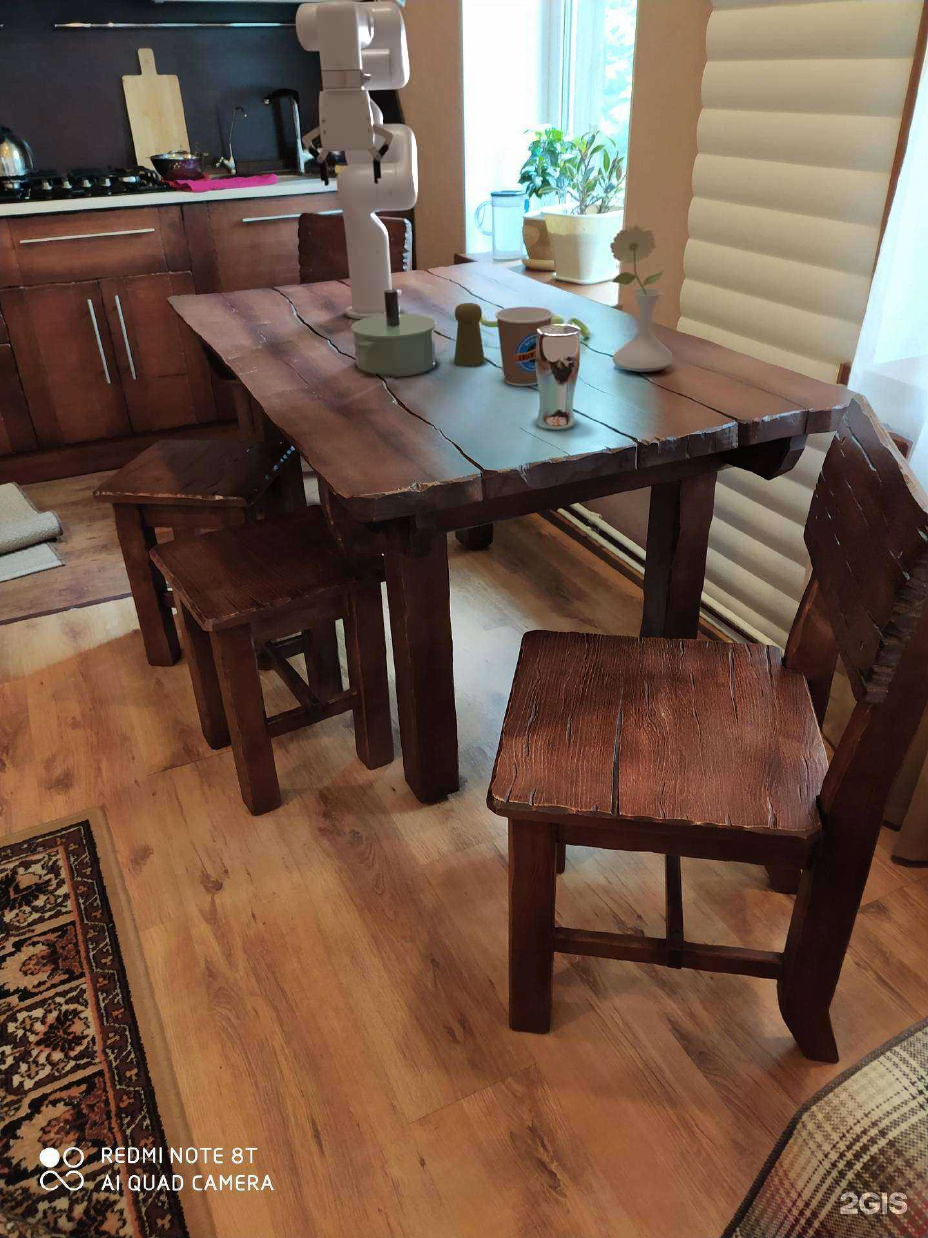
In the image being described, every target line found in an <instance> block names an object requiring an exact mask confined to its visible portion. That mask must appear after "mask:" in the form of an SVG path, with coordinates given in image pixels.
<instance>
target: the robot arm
mask: <svg viewBox="0 0 928 1238" xmlns="http://www.w3.org/2000/svg"><path fill="white" fill-rule="evenodd" d="M404 21H405V20H404V18H403V14H402V12H401V10H400V8H399V6H398V5H397V3H395V2H392V1H389V0H387V1H353V0H329V1H321V2H320V1H318V2H304V3H301V4H300V5H299V6H298V9H297V11H296V15H295V30H296V31H295V32H296V35H297V38H298V41H299V44H300V45H301V47H302V48H303V50H305V51H308V52H319V58H320V59H319V60H320V69H321V70H320V71H321V72H320V73H321V80H322V81H321V82H322V89H323V90H321V91H319V97H318V114H319V115H318V117H319V118H318V119H319V125H318V126H317V127H316V128H314V129H313V130H311V131H309V132H308V133H307V134H305V135H304V136H302V138H301V141H302V144H303V145H304V147H305V148H306V150H307V152H308V154H309V155H311V156H312V157H313V159H315V160H316V161H317V163H318V166H319V175H320V181H321V182H324V187H328V186H329V185H330V178H329V177H330V176H329V169H328V162H327V161H326V157H327V156H328V154H329V153H330V152H344V157H345V161H346V164H347V165H346V166H344V167H343V168H340V170H339V171H338V173H337V177H336V190H337V194H338V198H339V203H340V207H341V212H342V218H343V225H344V232H345V243H346V252H347V265H348V275H349V288H350V297H351V298H350V299H351V306H348V308H346V309H345V315H346V316H347V317H348V318H350V319H354V320H362V319H365V318H369V317H374V316H380V315H386V311H385V297H384V291H385V290H390V289H393V286H392V285H393V284H392V272H391V271H392V269H391V256H390V243H389V242H390V241H389V234H388V231H387V228H386V226H385V224H384V223H383V222H382V220H381V219H380V218H379V217H378V216H377V215H376V214H375V213H379V212H396V211H408V210H411V209H412V208H414V207H415V205H416V203H417V201H418V200H417V199H418V151H417V142H416V138H415V134H414V132H413V130H412V129H411V127H409V126H408V125H406V124H403V123H384V122H383V120H384V117H383V113H382V111H381V109H380V107H379V106H378V105H377V103H376V102H375V101H374V100H373V99H372V98H371V97H370V93H369V91H379V90H381V91H383V90H384V91H385V90H386V91H387V90H398V89H402V88H404V87H406V85H407V83H408V82H409V78H410V61H409V53H408V51H409V50H408V43H407V34H406V27H405V22H404ZM318 136H320V143H321V147H322V149H321V151H320V152H319V150H317V149H316V148H315V147H314V145H313V143H312V140H314V139H316V138H317V137H318ZM396 290H398V299H399V298H401V297H402V296H403V292H402V290H401V289H400V288H398V289H396ZM399 314H401V307H400V306H399Z"/></svg>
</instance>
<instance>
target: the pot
mask: <svg viewBox="0 0 928 1238" xmlns="http://www.w3.org/2000/svg"><path fill="white" fill-rule="evenodd" d="M352 333H353V332H352ZM435 341H436V340H435V328H434V329H433V330H432V331H430V332H427V333H425V334H421V335H417V336H412V337H405V338H393V339H379V338H368V337H363V336H359V335H356V334H354V333H353V344H354V355H355V365H356V367H357V369H358V370H361V371H363V372H365V373H370V374H377V375H391V376H389V378H401V377H402V378H403V377H409V376H410V377H411V376H414V375H419V374H422V373H425V372H428V371H430V370H432V369H433V368H434V367H435V365H436V342H435Z"/></svg>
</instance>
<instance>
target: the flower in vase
mask: <svg viewBox="0 0 928 1238" xmlns="http://www.w3.org/2000/svg"><path fill="white" fill-rule="evenodd" d="M609 248H610V249H611V253H612V254H613V255H612V256H613V258H614V260H617V261H618V262H622V261H623V263H624V264H633V273H630V272H627V271H625V272H624V271H623V272H621V273H619V274H617V275H616V276H615V277H614V278H613V279H612V281H611V283H616V284H620V285H625V286H626V285H630V284H631V283H632V282H634V280H635V279H636V281H637V282H638V284H639V285H640V287H641V289H637V290H635V291H633V294H634V296H635V297H636V300H637V301H638V302H637V303H638V309H639V324H638V330H637V332H636V334H635V335H634V336H633V337H632V338H630V339H629V340H628V341H626V342H625V343H624V344H622V345H621V346H620V347H619V348H618V349H617V350H616V351H615V352H614V353H613V355H612V358H611V360H612V362H613V364H614V365H615V366H617V367H619V368H621V369H623V370H625V371H631V372H637V373H639V372H640V373H645V372H646V373H648V372H657V371H661V370H663V369H666V368H669V367H670V366H671V365H672V364H673V363H674V361H675V360H674V359H675V358H674V355H673V354H672V352H671V351H670V350H669V349H668V348H667V347H666V345H664V344H663V343H662V342H661V341H659V339H658V338H657V337H656V336H655V335H654V333H653V328H652V325H653V315H654V311H655V306H656V304H657V301H658V300H659V298H660V297H661V295H662V294H663V291H662V290H659V289H653V288H645V287H644V286H647V285H653V284H655V283H656V282H657V281H659V280H660V279H661V277H662V276H663V274H664V269H663V270H661V271H659V272H657V273H654V274H650V275H648V276H647V277H646V278H645V279H644V281H643V283H642V282H641V280H640V278H639V276H638V274H637V267H636V262H641V261H642V260H645V259H648V258H649V257H650V254H651V253H652V252H653V250H654V249H655V248H656V238H654V233H653V230H652V229H646V227H645V225H641V226H639V225H638V224H635V225H634V226H631V225H630V226H629V225H628V226H626V227H625V229H621V230H619V232H618V233H616V236H614V238H613V241H612V242H610V245H609Z"/></svg>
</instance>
